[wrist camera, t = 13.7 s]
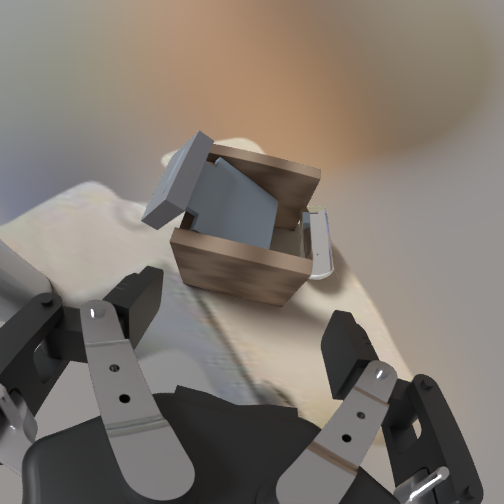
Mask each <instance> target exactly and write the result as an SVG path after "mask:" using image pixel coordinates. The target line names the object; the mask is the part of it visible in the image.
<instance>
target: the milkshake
mask: <svg viewBox="0 0 504 504" xmlns="http://www.w3.org/2000/svg"><path fill="white" fill-rule="evenodd" d="M300 257H302V258H306V259H310V260H313V264H312V272H311V276H310V277H309V278H308V279H316V280H320V279H323V278H326V277H328V276H329V275H331V274H332V272H333V270H335V269H334V265H333V257H332V250H331V241H330V233H329V225H328V218H327V210H326V208H324V207H322V206H309V207H305V208H302V209H301V210H300ZM335 272H336V271H335ZM336 274H337V273H336ZM337 276H338V275H337ZM338 278H339V277H338ZM339 280H340V279H339Z"/></svg>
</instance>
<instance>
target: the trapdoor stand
mask: <svg viewBox="0 0 504 504" xmlns="http://www.w3.org/2000/svg"><path fill="white" fill-rule="evenodd" d="M220 157H221V158H222V159H224V160H225V161H226V162H228V163H229V164H230V165H232V166H233V167H234V168H236V169H237V170H239V171H240V172H241V173H243V174H244V175H245V176H247V177H248V178H249V179H251V180H252V181H253V182H255V183H256V184H257V185H258V186H260V187H261V188H262V189H264V190H265V191H266V192H268V193H269V194H270V195H271V196H273V197H274V198H275V199H277V200H278V207H277V212H276V217H275V223H274V226H277V227H281V228H285V229H289V230H293V231H294V230H295V228H296V226H297V224H298V222H299V220H300V210H301V209H302V208H305V207H307V205H308V203H309V201H310V199H311V197H312V195H313V193H314V191H315V189H316V187H317V185H318V183H319V181H320V178H321V170H320V169H317V168H313V167H310V166H306V165H303V164H299V163H295V162H291V161H288V160H284V159H280V158H276V157H272V156H268V155H263V154H259V153H255V152H250V151H246V150H241V149H236V148H232V147H227V146H222V145H216V144H213V145H212V147H211V150H210V152H209V154H208V156H207V159H206V161H207V162H208V163H210V164H211V165H212V166H214V165H215V162H216V160H217V159H219V158H220ZM194 217H195V216H193V215H192V214H190V213H188V212H187V211H186V212H185V214H184V217H183V220H182V222H181V225H180V228H176V227H175V229H174V231H173V234H172V237H171V239H170V244H171V247H172V250H173V253H174V257H175V260H176V263H177V266H178V269H179V272H180V275H181V278H182V280H183V283H184V284H188V285H192V286H196V287H200V288H204V289H208V290H212V291H216V292H220V293H224V294H228V295H232V296H237V297H241V298H245V299H249V300H254V301H258V302H263V303H267V304H272V305H276V306H281V307H282V306H283V305H284V304H285V303H286V302H287V301H288V300H289V299H290V297H291V296H292V295H293V294H294V293H295V292H296V291H297V290H298V289H299V288H300V287H301V286H302V285H303V284H304V282H305V281H306V280H307V279H308V278H309V277H310V276H311V272H312V264H313V260H310V259H306V258H302V257H298V256H294V255H289V254H285V253H281V252H277V251H273V250H269V249H265V248H260V247H256V246H252V245H248V244H244V243H239V242H235V241H231V240H227V239H223V238H218V237H214V236H210V235H206V234H201V233H197V232H193V231H190V228H191V225H192V223H193V220H194Z"/></svg>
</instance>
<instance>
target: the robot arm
mask: <svg viewBox="0 0 504 504" xmlns="http://www.w3.org/2000/svg"><path fill="white" fill-rule="evenodd" d="M162 285H163V270H162V269H158V268H155V267H151V266H146V267H145V268H144V269H143V270H142V271H141V272H140V274H137V273H133V274H131V275H128V276H126V277H125V278H124V279H123V280H122V281H121V282H120V283H119V284H118V285H117V286H116V287H114V288H113V289H112V290H111V291H110V292H109V293H108V294H107V295H106V296H105V297H104V298H103V300H91V301H88V302H86V303H84V304H83V305H82V306H81V308H80V309H76V308H69V307H63V302H62V298H61V297H60V296H59V295H57V294H55V293H52V287H51V284H50V282H49V280H48V279H47V277H46V276H45V275H44V274H42V273H41V272H40V271H38V270H37V269H36V268H34V267H33V266H32V265H31V264H29V263H28V262H27V261H26V260H24V259H23V258H22V257H21V256H19V255H18V254H17V253H16V252H14V251H13V250H12V249H11V248H10V247H8V246H7V245H6V244H5V243H4V242H3V241H1V240H0V321H3V322H5V324H4V325H3V326H2V327H1V328H0V465H5V466H6V467H8V468H9V469H10V470H12V471H13V472H15V473H16V474H18V475H19V476H21V477H22V483H23V499H22V504H480V503H481V502H482V499H483V487H482V484H481V481H480V479H479V476H478V473H477V470H476V468H475V465H474V462H473V460H472V457H471V455H470V453H469V450H468V448H467V445H466V443H465V441H464V438H463V436H462V434H461V431H460V429H459V427H458V425H457V423H456V421H455V418H454V416H453V414H452V412H451V410H450V408H449V406H448V404H447V402H446V400H445V398H444V396H443V394H442V392H441V390H440V388H439V386H438V385H437V383H436V382H435V381H434V380H433V379H432V378H431V377H429V376H427V375H424V374H418V375H416V376H415V377H414V378H413V380H412V381H411V382H408V381H405V380H402V379H398V378H397V373H396V371H395V370H394V368H393V367H392V366H390V365H389V364H387V363H385V362H383V361H380V360H379V358H378V356H377V354H376V352H375V350H374V348H373V346H372V345H371V342H370V340H369V338H368V335H367V333H366V331H365V330H364V329H363V328H362V327H361V326H360V325H359V324H356V322H355V320H354V317H353V315H352V314H351V313H350V312H345V311H340V310H335V311H334V312H333V314H332V317H331V319H330V321H329V323H328V326H327V328H326V330H325V333H324V335H323V337H322V341H321V351H322V355H323V359H324V363H325V367H326V371H327V376H328V380H329V384H330V389H331V393H332V397H333V399H337V400H343V403H342V404H341V405H340V407H339V408H338V409H337V411H336V412H335V413H334V415H333V416H332V417H331V419H330V420H329V421H328V423H327V424H326V425H325V426H324V428H323V429H320V428H319V427H318V426H316V425H315V424H313V423H311V422H309V421H307V420H305V419H303V418H300V417H298V412H297V408H291V407H283V406H276V405H235V404H232V403H230V402H227V401H225V400H223V399H220V398H218V397H216V396H213V395H211V394H208V393H206V392H202V391H198V390H194V389H190V388H186V387H183V386H179V385H177V387H176V390H175V393H157V394H151V392H150V390H149V387H148V385H147V383H146V380H145V378H144V376H143V374H142V371H141V368H140V366H139V364H138V361H137V359H136V356H135V353H134V349H135V348H136V346H137V344H138V343H139V341H140V339H141V338H142V336H143V335H144V333H145V331H146V330H147V328H148V326H149V325H150V323H151V322H152V320H153V318H154V317H155V315H156V314H157V312H158V310H159V307H160V303H161V295H162ZM39 344H41V345H40V346H39V347H38V348H37V346H38V345H39ZM36 348H37V350H36V351H35V349H36ZM34 351H35V352H34ZM70 361H76V362H83V363H88V365H89V370H90V375H91V379H92V383H93V388H94V392H95V396H96V399H97V403H98V407H99V410H100V414H101V415H100V416H98V417H96V418H93V419H91V420H88V421H86V422H83V423H81V424H78V425H75V426H73V427H70V428H68V429H65V430H62V431H59V432H57V433H54V434H51V435H48V436H45V437H43V438H41V439H39V440H37V441H35V437H36V434H37V430H38V429H37V422H36V420H35V419H34V417H35V415H36V414H37V412H38V410H39V409H40V407H41V405H42V404H43V402H44V400H45V399H46V397H47V396H48V394H49V392H50V391H51V389H52V388H53V386H54V384H55V383H56V381H57V380H58V378H59V376H60V375H61V374H62V372H63V371H64V369H65V368H66V366H67V365H68V363H69V362H70ZM417 419H419V422H420V425H421V428H422V431H421V435H420V437H419V438H418V439H417V436H416V434H415V430H414V428H413V425H412V424H413V423H414V422H415V421H416V420H417ZM380 426H381V427H382V431H383V435H384V438H385V442H386V447H387V450H388V455H389V459H390V464H391V468H392V472H393V477H394V482H395V487H396V489H395V491H394V493H393V495H392V494H391V493H390V492H389V491H388V490H387V489H385V488H384V487H383V486H382V485H381V484H380V483H378V482H377V481H376V480H375V479H374V478H372V476H370V475H369V474H368V473H367V472H366V471H365V470H364V469H363V468H362V467H360V466H359V465H360V464H361V462H362V460H363V458H364V457H365V455H366V453H367V451H368V449H369V447H370V446H371V444H372V442H373V440H374V438H375V436H376V434H377V432H378V430H379V428H380Z"/></svg>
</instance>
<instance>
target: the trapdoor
mask: <svg viewBox="0 0 504 504" xmlns="http://www.w3.org/2000/svg"><path fill="white" fill-rule="evenodd" d="M213 143H214V141H213V140H212V139H211V138H209V137H208V136H206V135H205V134H204V133H202V132H201V131H198V132H197V133H196V134H195V135H194V136H193V137H192V138H191V139H190V140H188V141H187V142H186V143H185V144H184V145H183V146H182V147H181V148H180V149H179V150H178V151H177V152H176V153H175V154H174V155H173V156H172V158H171V159H170V161H169V163H168V165H167V167H166V169H165V171H164V173H163V175H162V177H161V179H160V181H159V183H158V185H157V187H156V189H155V191H154V193H153V196H152V198H151V200H150V202H149V204H148V206H147V208H146V211H145V213H144V215H143V217H142V220H141V221H142V222H144V223H146V224H147V225H149V226H151V227H153V228H155V229H156V230H158V229H159V228H161V227H162V226H164V225H165V224H167V223H168V222H170V221H171V220H173V219H174V218H175V217H177V216H178V215H180V214H181V213H183V212H184V211H187V212H188V213H190V214H192V215H193V216H195V217H194V220H193V223H192V225H191V228H190V231H193V232H197V233H201V234H206V235H210V236H214V237H218V238H223V239H227V240H231V241H235V242H239V243H244V244H248V245H252V246H256V247H260V248H265V249H269V248H270V243H271V238H272V233H273V228H274V223H275V217H276V212H277V207H278V200H277V199H275V198H274V197H273V196H271V195H270V194H269V193H268V192H266V191H265V190H264V189H262V188H261V187H260V186H258V185H257V184H256V183H255V182H253V181H252V180H251V179H249V178H248V177H247V176H245V175H244V174H243V173H241V172H240V171H239V170H237V169H236V168H234V167H233V166H232V165H230V164H229V163H228V162H226V161H225V160H224V159H222V158H221V157H220V158H219V159H217V160H216V162H215V165H214V166H212V165H211V164H210V163H208V162H207V161H206V159H207V156H208V154H209V152H210V150H211V147H212V145H213Z"/></svg>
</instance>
